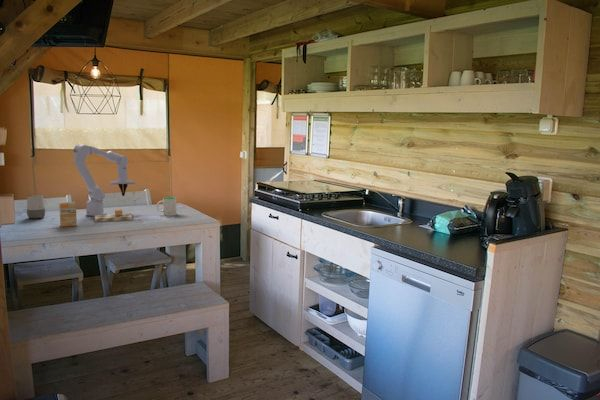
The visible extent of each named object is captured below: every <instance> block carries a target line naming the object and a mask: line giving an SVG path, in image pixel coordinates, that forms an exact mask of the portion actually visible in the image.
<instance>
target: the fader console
mask: <svg viewBox="0 0 600 400" xmlns="http://www.w3.org/2000/svg"><path fill="white" fill-rule="evenodd" d="M132 219H133V218H132V214H131V213H122V215H118V216H115V213H114V214H105V215H95V216H94V222H95V223H99V222H101V221H102V222H118V221H132ZM102 222H101V223H102Z"/></svg>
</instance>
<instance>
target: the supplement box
mask: <svg viewBox="0 0 600 400" xmlns="http://www.w3.org/2000/svg"><path fill="white" fill-rule="evenodd" d="M58 204H59V205H58V206H59V224H60V227H73V226H74V227H77V226H78V222H77V221H78V219H77V218H78V217H77V202H76V201H59V203H58Z"/></svg>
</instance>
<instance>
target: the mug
mask: <svg viewBox="0 0 600 400" xmlns="http://www.w3.org/2000/svg"><path fill="white" fill-rule="evenodd" d="M160 203H162V210H160V209H159V204H160ZM156 208H157V211H159V212H160V213H161V212H162V213H163V216H176V215H177V214H178V213H177V212H178V211H177V197H173V196H168V197H167V196H166V197H163V198H162V200H159V201H158V202H157V203H156Z"/></svg>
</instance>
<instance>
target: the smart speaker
mask: <svg viewBox="0 0 600 400" xmlns="http://www.w3.org/2000/svg"><path fill="white" fill-rule="evenodd" d="M45 207H46V205H45V201H44V195H43V194H39V195H33V196H28V197H27V198H26V215H27V217H28V218H29V219H30V220H39V219H43V218H45V216H46V208H45Z"/></svg>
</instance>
